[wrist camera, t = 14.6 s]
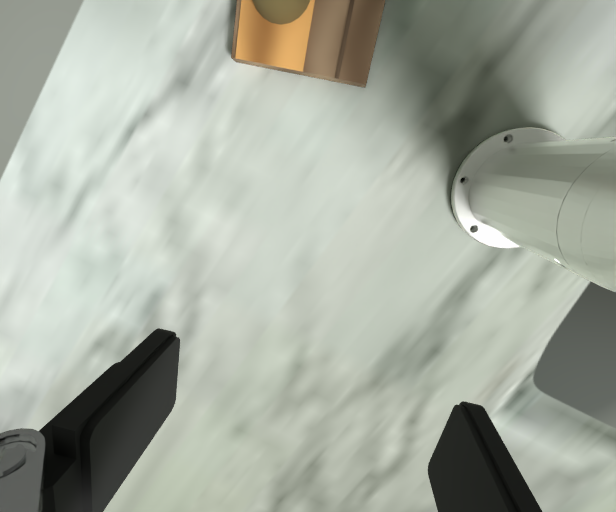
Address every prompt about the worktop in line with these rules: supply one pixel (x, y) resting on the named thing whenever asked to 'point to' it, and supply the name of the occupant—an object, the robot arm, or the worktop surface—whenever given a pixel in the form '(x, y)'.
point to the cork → (281, 10)
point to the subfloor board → (312, 40)
